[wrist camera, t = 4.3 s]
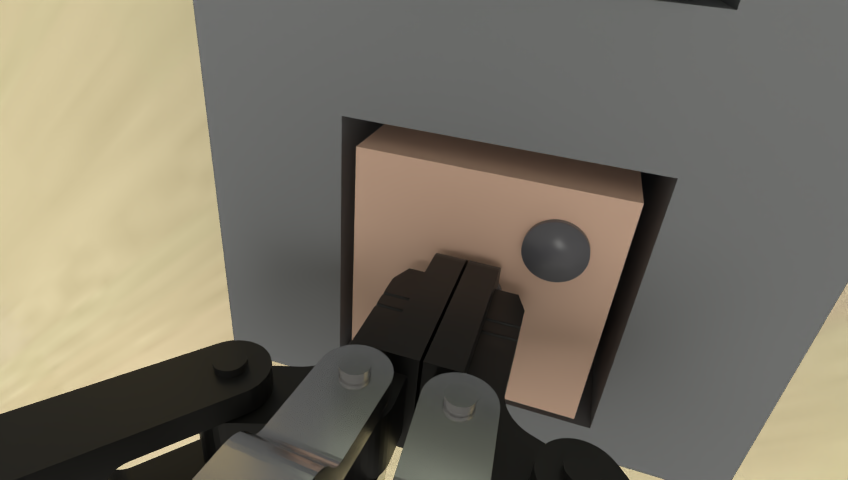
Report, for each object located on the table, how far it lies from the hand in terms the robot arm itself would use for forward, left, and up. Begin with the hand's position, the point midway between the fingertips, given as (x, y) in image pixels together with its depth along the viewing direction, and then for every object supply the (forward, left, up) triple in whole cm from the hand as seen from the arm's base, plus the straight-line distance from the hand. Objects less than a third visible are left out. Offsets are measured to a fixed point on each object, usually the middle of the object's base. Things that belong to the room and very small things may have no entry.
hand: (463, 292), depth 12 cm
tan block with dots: (0, 0, -4) cm, 4 cm away
